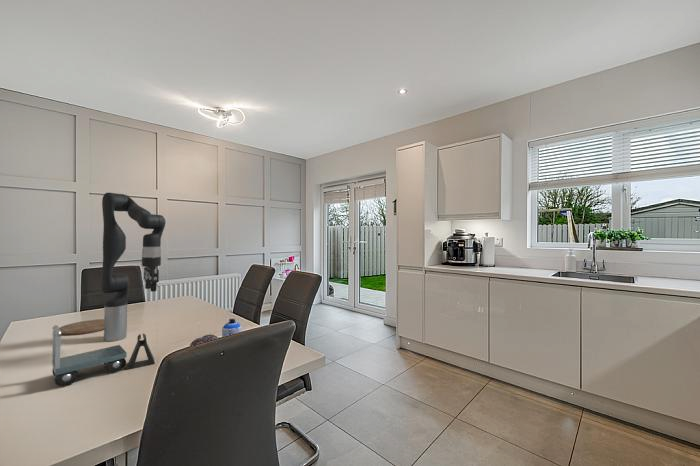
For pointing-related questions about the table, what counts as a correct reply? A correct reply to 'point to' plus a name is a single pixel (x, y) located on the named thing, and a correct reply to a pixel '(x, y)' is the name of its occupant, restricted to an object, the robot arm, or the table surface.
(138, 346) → the triangular clip stand
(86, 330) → the trivet
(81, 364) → the trolley
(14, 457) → the table surface
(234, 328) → the aerosol can
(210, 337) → the decorative flower
